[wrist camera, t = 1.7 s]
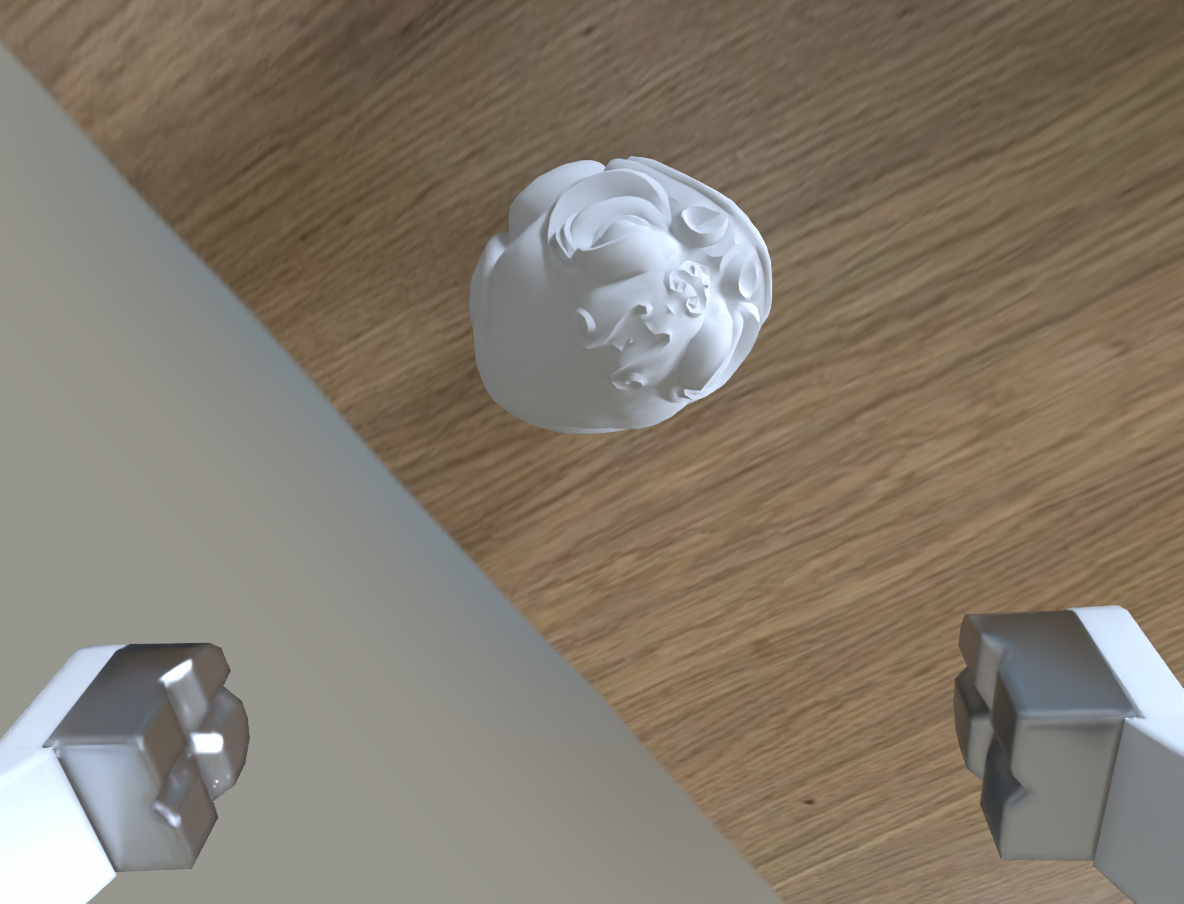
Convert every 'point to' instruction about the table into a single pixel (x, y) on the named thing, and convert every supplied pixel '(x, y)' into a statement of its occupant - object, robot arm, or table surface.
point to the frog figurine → (616, 297)
